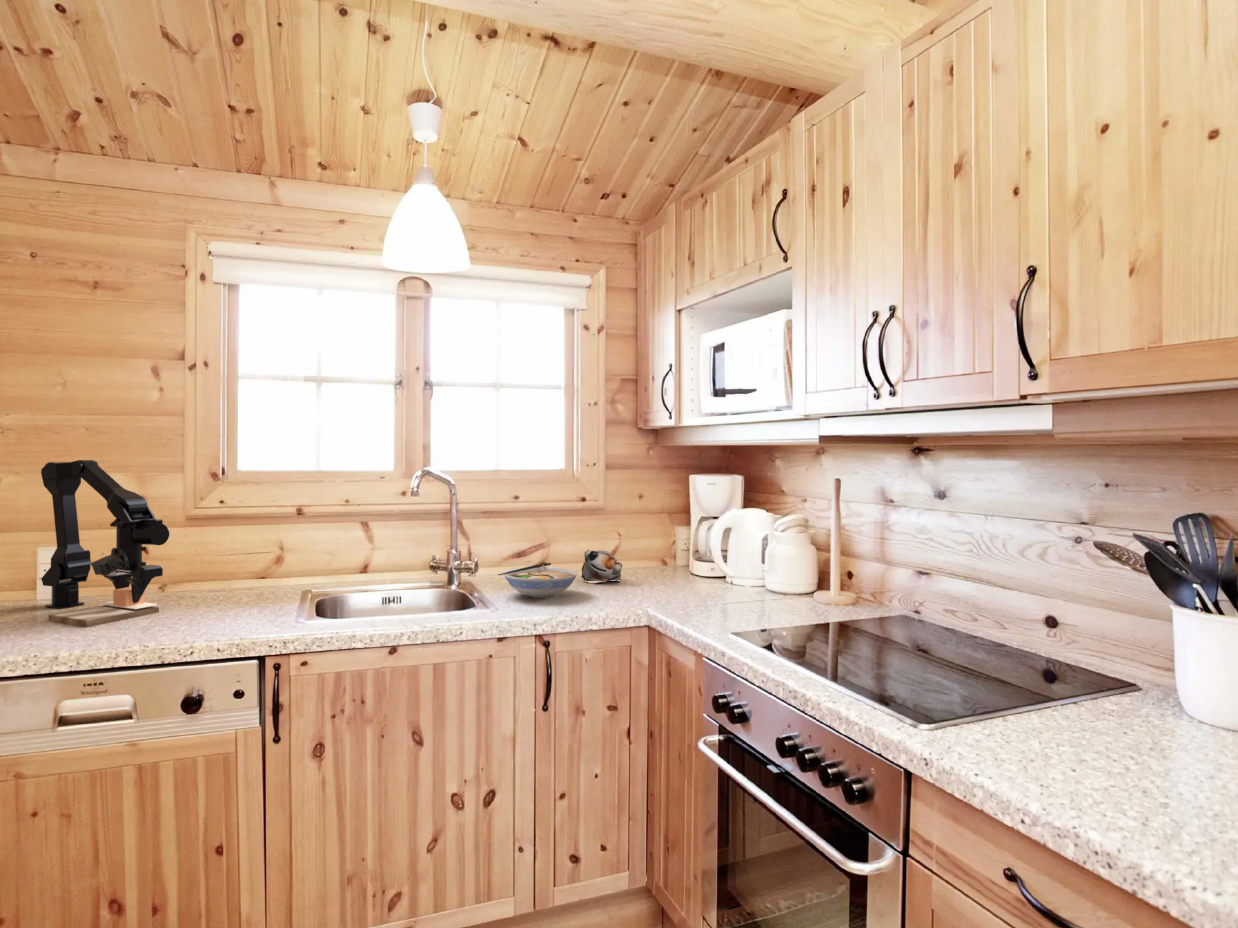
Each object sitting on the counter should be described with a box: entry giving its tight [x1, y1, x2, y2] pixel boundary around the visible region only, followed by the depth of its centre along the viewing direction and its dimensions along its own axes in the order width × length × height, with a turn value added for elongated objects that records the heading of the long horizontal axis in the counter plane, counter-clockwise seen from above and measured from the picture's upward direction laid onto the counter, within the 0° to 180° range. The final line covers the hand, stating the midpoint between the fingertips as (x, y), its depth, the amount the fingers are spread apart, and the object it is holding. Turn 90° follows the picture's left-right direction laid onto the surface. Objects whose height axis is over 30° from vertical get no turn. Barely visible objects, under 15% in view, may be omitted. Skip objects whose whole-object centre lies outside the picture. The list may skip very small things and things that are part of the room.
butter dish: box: [100, 586, 159, 609], centre depth 189 cm, size 14×6×4 cm, turn 68°
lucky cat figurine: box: [581, 549, 623, 581], centre depth 242 cm, size 15×12×14 cm
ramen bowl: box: [497, 562, 578, 599], centre depth 218 cm, size 25×23×8 cm
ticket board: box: [48, 605, 160, 628], centre depth 184 cm, size 15×18×2 cm
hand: (129, 601), depth 189 cm, fingers closed on butter dish, 5 cm apart
